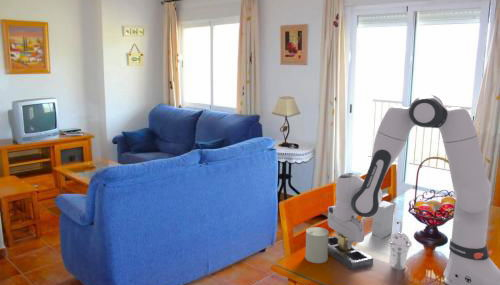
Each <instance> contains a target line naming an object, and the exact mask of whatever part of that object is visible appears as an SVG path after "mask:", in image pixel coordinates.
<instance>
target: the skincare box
mask: <svg viewBox="0 0 500 285" xmlns="http://www.w3.org/2000/svg"><path fill="white" fill-rule="evenodd" d="M394 210H395V203H392V202H389V201H386V200H381V202H380V205H379V207H378V210H377V212H376V214H374V215H373V216H372V224H371V235H373V236H375V237H378V238H381V239H384V238H385V237H387V236H389V235H391V234H392V235H393V225H394V224H393V223H394Z"/></svg>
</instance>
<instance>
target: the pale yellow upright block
mask: <svg viewBox="0 0 500 285" xmlns="http://www.w3.org/2000/svg"><path fill="white" fill-rule="evenodd" d="M348 241H349V240H348V238H347V237H345V236H344V235H342V234H340V235H338V249H339V250H341V251H342V253H344V252H348V251H352V247H351V248H348V247H346V243H348Z"/></svg>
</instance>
